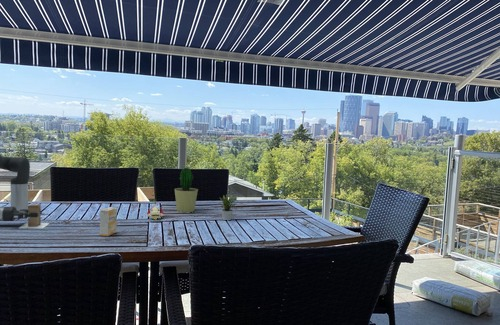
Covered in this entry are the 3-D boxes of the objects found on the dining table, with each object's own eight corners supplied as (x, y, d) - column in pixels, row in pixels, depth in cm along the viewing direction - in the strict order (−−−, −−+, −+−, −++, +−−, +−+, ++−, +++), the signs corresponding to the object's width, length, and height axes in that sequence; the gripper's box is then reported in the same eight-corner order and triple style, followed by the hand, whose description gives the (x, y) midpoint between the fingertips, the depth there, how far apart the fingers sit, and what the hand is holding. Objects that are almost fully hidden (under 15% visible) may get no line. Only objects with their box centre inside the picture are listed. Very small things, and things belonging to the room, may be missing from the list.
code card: (25, 223, 209) (25, 223, 209) (49, 223, 212) (49, 222, 212) (18, 228, 199) (18, 228, 199) (43, 228, 201) (43, 227, 201)
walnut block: (31, 224, 207) (31, 204, 206) (40, 224, 208) (40, 204, 207) (28, 226, 203) (28, 205, 202) (37, 226, 204) (37, 205, 203)
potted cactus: (198, 213, 253) (200, 168, 250) (174, 213, 249) (175, 167, 246) (196, 208, 267) (197, 165, 265) (173, 209, 264) (174, 165, 261)
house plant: (235, 224, 228) (236, 196, 227) (212, 222, 231) (213, 195, 230) (240, 219, 242) (241, 193, 241) (219, 217, 245) (220, 191, 244)
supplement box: (108, 236, 191) (108, 210, 190) (99, 235, 192) (99, 209, 191) (117, 232, 200) (117, 207, 199) (108, 231, 200) (108, 206, 199)
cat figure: (147, 213, 252) (146, 219, 227) (147, 200, 252) (147, 204, 227) (162, 213, 254) (163, 219, 230) (163, 200, 254) (164, 204, 230)
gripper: (-2, 209, 195) (35, 209, 198) (10, 204, 209) (44, 204, 212) (-2, 224, 195) (35, 224, 199) (10, 217, 209) (44, 217, 213)
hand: (39, 213), depth 205 cm, fingers open, 5 cm apart
